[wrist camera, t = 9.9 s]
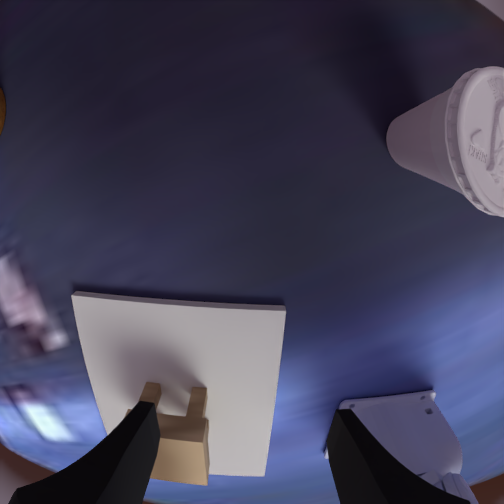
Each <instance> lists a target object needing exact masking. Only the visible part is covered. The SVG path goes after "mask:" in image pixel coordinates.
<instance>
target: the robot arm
mask: <svg viewBox="0 0 504 504" xmlns="http://www.w3.org/2000/svg"><path fill="white" fill-rule="evenodd" d="M435 396H436V392H435V391H434V390H429V391H423V392H416V393H409V394H401V395H393V396H384V397H374V398H363V399H351V400H344V401H342V402H341V403H340V406H339V409H336V412H335V415H334V418H333V422H332V425H331V428H330V431H329V434H328V438H327V441H326V442H327V447H326V450H325V453H324V457H325V458H326V459H329V463H330V467H331V471H332V474H333V478H334V482H335V485H336V489H337V493H338V496H339V500H340V504H478V502H477V500H476V498H475V496H474V494H473V493H472V491H471V489H470V488H469V486H468V484H467V483H466V481H465V480H464V479H463V477H462V476H461V475H460V471H461V467H462V450H461V446H460V443H459V441H458V439H457V437H456V435H455V434H454V432H453V430H452V429H451V427H450V426H449V424H448V422H447V421H446V419H445V418H444V416H443V414H442V413H441V411H440V410H439V408H438V407H437V405H436V404H435V402H434V401H433V400H434V398H435ZM351 404H353V405H351ZM160 436H161V434H160V429H159V424H158V419H157V413H156V408H155V403H153V402H146V401H139V402H138V403H137V404H136V405H135V406H134V407H133V409H132V410H131V411H130V412H129V413H128V414H127V416H126V417H125V418H124V419H123V420H122V421H121V422H120V423H119V424H118V425H117V426H116V427H115V428H114V429H113V430H112V432H111V433H110V434H109V435H108V436H106V437H105V438H104V439H103V440H102V441H101V442H100V443H99V444H98V445H97V446H95V447H94V448H93V449H92V450H91V451H89V452H88V453H87V454H85V455H84V456H83V457H81V458H80V459H79V460H77V461H76V462H74V463H72V464H71V465H69V466H68V467H66V468H64V469H63V470H61V471H59V472H57V473H55V474H53V475H51V476H49V477H47V478H45V479H43V480H40V481H38V482H35V483H32V484H30V485H26V486H23V487H20V488H17V489H16V491H15V492H14V494H13V495H12V497H11V500H10V501H9V503H8V504H142V502H143V498H144V495H145V491H146V488H147V485H148V482H149V479H150V476H151V473H152V470H153V467H154V463H155V460H156V457H157V453H158V448H159V442H160Z"/></svg>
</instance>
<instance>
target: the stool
mask: <svg viewBox="0 0 504 504" xmlns="http://www.w3.org/2000/svg"><path fill="white" fill-rule="evenodd" d="M161 394H162V393H161V386H160V383H153V382H146V384H145V386H144V389H143V391H142V394H141V396H140V398H139V401H146V402H153V403H155V408H156V409H157V406H158V403H159V400H160V397H161ZM207 399H208V397H207V388H203V387H192V391H191V395H190V400H189V404H188V409H187V413H186V416H176V415H168V414H160V413H157V419H158V424H159V429H160V434H161V436H160V442H159V448H158V453H157V457H156V460H155V463H154V467H153V470H152V473H151V476H150V478H153V479H159V480H165V481H172V482H179V483H188V484H197V485H207V484H208V475H209V466H210V460H209V447H208V433H209V420H207V418H205V411H206V405H207ZM139 401H138V402H139ZM131 410H132V409H128V410H127V412H126V415H125V417H126V416H127V414H128V413H129V412H130V411H131ZM125 417H124V418H125Z"/></svg>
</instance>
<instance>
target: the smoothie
mask: <svg viewBox="0 0 504 504" xmlns="http://www.w3.org/2000/svg"><path fill="white" fill-rule="evenodd" d="M386 142H387V147H388V151H389V153H390V155H391V157H392V158H393V159H394V161H395V162H396V163H397V164H399V165H400V166H402V167H403V168H406V169H408V170H411V171H413V172H415V173H418V174H420V175H422V176H425V177H427V178H429V179H432V180H434V181H436V182H438V183H441V184H443V185H445V186H447V187H449V188H451V189H454V190H456V191H458V192H460V193H461V194H464V195H465V197H466V198H467V199H468V200H469V201H470V202H471V203H472V204H473V205H474V206H475V207H476V208H477V209H479V210H481V211H483V212H485V213H487V214H489V215H497V216H500V217H504V68H501V67H496V66H491V67H485V68H476V69H474V70H471V71H469V72H466V73H464V74H463V75H462V76H461V77H460V79H459V80H458V81H457V82H456V83H455V84H454V86H453V87H452V88H450V89H448V90H447V91H445V92H443V93H441V94H439V95H437V96H436V97H434V98H432V99H430V100H428V101H426V102H424V103H422V104H420V105H419V106H417V107H415V108H413V109H411V110H409V111H407V112H406V113H404V114H402V115H400V116H398V117H397V118H395V119H394V120H393V121H392V122H391V124H390V126H389V128H388V131H387V136H386Z"/></svg>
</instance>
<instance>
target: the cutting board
mask: <svg viewBox="0 0 504 504" xmlns="http://www.w3.org/2000/svg"><path fill="white" fill-rule="evenodd" d="M71 296H72V302H73V308H74V313H75V319H76V324H77V329H78V333H79V338H80V342H81V347H82V351H83V355H84V359H85V363H86V367H87V371H88V375H89V378H90V382H91V385H92V389H93V392H94V396H95V399H96V402H97V405H98V408H99V412H100V415H101V418H102V421H103V424H104V426H105V429H106V432H107V435H109V434H110V433H111V432H112V430H113V429H114V428H115V427H116V426H117V425H118V424H119V423H120V422H121V421H122V420H123V419H124V417H125V415H126V412H127V410H128V409H133V407H134V406H135V405H136V404H137V403H138V401H139V398H140V396H141V394H142V391H143V389H144V386H145V384H146V382H153V383H160V386H161V393H162V394H161V397H160V400H159V403H158V406H157V409H156V413H160V414H168V415H176V416H186V413H187V409H188V404H189V400H190V395H191V391H192V387H203V388H207V397H208V399H207V405H206V411H205V418H207V420H209V433H208V447H209V460H210V466H209V474H216V475H232V476H264V475H265V468H266V462H267V455H268V449H269V442H270V435H271V428H272V421H273V414H274V407H275V399H276V392H277V384H278V376H279V368H280V360H281V352H282V343H283V335H284V326H285V316H286V308H285V306H283V305H256V304H234V303H215V302H199V301H184V300H170V299H157V298H144V297H133V296H122V295H111V294H101V293H92V292H82V291H75V292H74V293H73V294H72V295H71Z"/></svg>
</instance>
